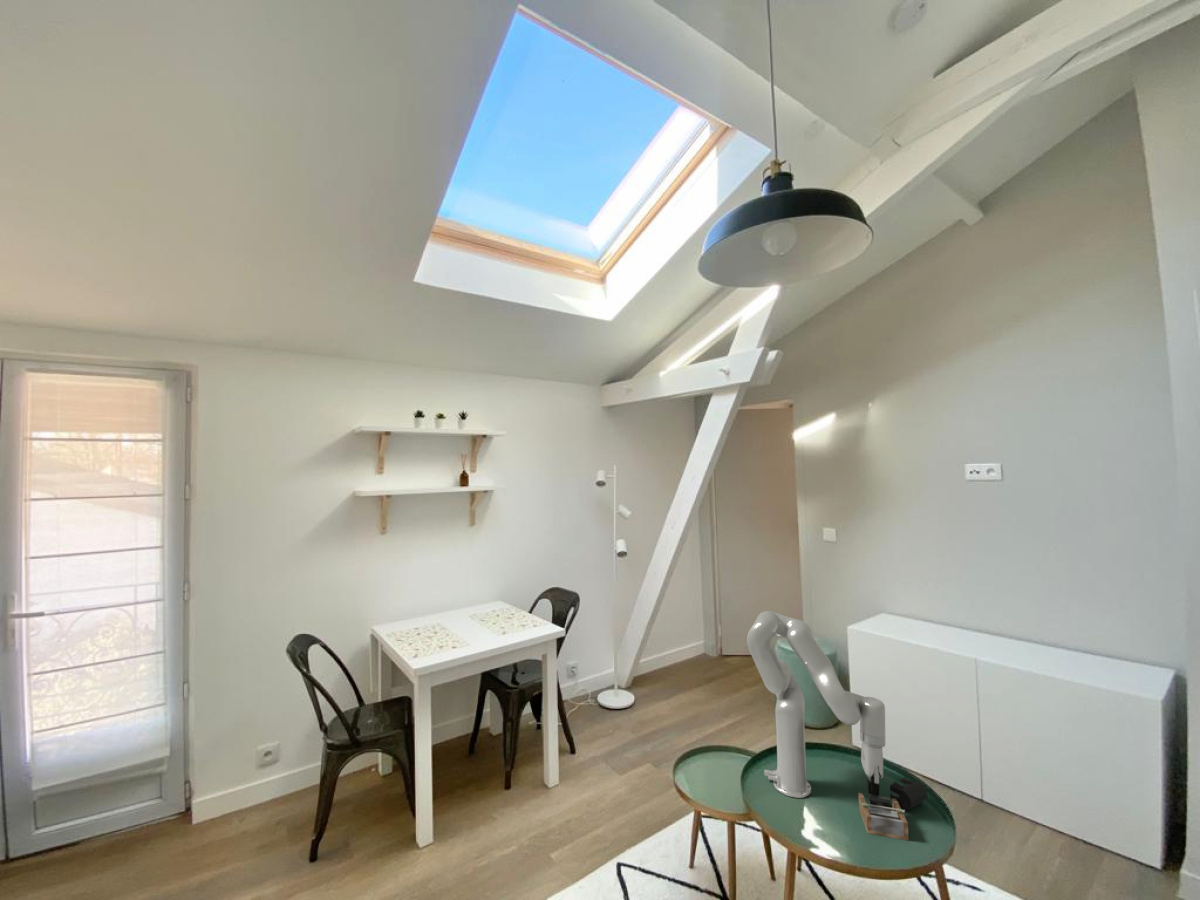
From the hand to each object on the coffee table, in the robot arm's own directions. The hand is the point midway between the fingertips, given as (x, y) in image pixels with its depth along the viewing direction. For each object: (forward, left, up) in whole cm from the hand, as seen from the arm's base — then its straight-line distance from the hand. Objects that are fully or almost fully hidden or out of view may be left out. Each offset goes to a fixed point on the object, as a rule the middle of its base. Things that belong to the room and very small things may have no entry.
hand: (873, 793), depth 165 cm
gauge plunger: (+1, -8, -3) cm, 9 cm away
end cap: (+12, +4, -5) cm, 13 cm away
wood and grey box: (+1, -9, -4) cm, 10 cm away
